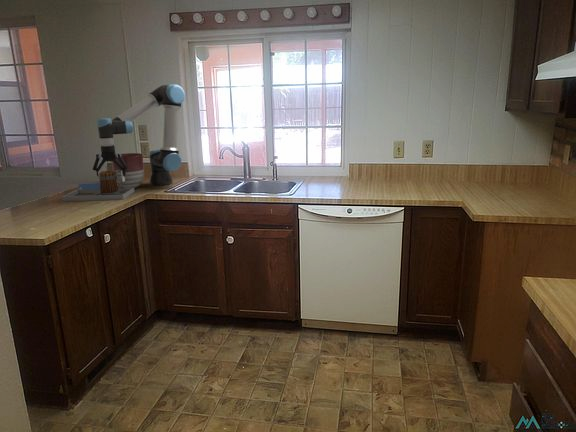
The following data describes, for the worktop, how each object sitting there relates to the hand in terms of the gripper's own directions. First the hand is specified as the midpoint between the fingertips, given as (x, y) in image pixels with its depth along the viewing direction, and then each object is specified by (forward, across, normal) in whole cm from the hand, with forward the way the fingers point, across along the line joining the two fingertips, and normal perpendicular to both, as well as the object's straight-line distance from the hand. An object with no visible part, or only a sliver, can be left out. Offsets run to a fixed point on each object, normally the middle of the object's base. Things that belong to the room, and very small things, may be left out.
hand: (112, 181), depth 253 cm
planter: (+9, -2, -23) cm, 25 cm away
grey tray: (+9, +8, 0) cm, 12 cm away
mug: (+9, 0, 0) cm, 9 cm away
